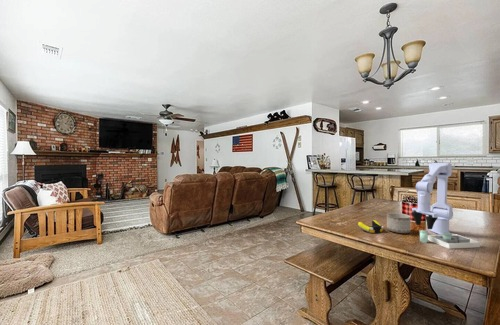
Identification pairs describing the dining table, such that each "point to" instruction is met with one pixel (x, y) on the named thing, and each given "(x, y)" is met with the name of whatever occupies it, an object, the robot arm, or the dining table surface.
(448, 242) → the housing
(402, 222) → the planter
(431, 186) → the robot arm
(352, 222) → the dining table surface
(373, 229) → the spring clamp
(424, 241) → the jaw peg
